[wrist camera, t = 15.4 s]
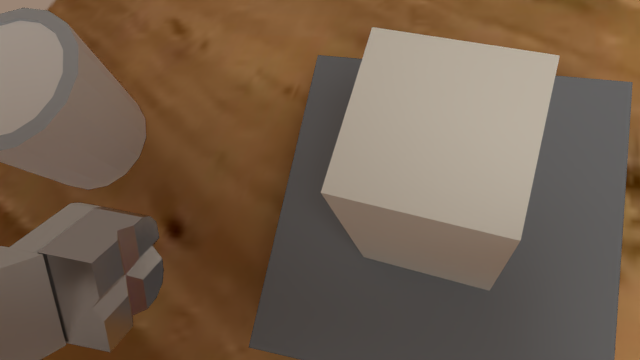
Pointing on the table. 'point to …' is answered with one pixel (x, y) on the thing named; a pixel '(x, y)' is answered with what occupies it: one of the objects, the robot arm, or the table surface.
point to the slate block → (445, 295)
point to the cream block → (440, 153)
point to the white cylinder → (62, 105)
